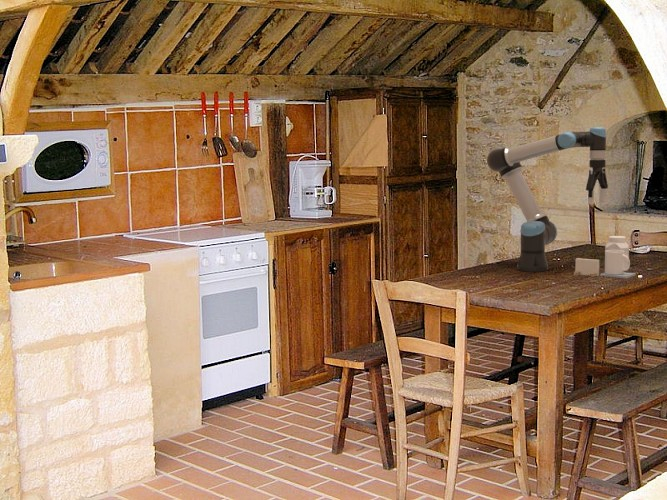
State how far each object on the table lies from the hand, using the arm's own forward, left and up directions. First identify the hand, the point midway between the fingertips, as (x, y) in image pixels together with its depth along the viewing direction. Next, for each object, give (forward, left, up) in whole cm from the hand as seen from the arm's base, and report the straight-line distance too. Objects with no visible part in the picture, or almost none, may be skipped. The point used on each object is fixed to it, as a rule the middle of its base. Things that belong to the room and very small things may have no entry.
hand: (596, 203), depth 460 cm
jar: (+5, +14, -33) cm, 36 cm away
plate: (+17, -13, -33) cm, 39 cm away
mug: (+16, -13, -32) cm, 38 cm away
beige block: (+3, -19, -33) cm, 38 cm away
